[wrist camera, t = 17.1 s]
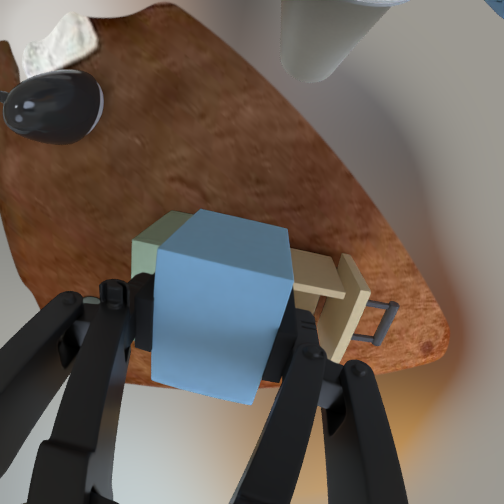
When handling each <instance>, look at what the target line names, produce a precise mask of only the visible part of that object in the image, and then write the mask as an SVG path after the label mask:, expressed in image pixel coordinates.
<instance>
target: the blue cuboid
mask: <svg viewBox="0 0 504 504" xmlns="http://www.w3.org/2000/svg"><path fill="white" fill-rule="evenodd" d="M293 283H294V276H293V268H292V260H291V252H290V244H289V237H288V229H286V228H282V227H278V226H274V225H269V224H265V223H261V222H257V221H252V220H248V219H244V218H239V217H235V216H230V215H226V214H222V213H217V212H213V211H208V210H203V209H200V210H199V211H197V212H196V213H195V214H194V215H193V216H192V217H191V218H190V219H189V220H187V221H186V222H185V223H184V224H183V225H182V226H181V227H180V228H179V229H178V230H176V231H175V232H174V233H173V234H172V235H171V236H170V237H169V238H168V239H167V240H166V241H165V242H164V243H163V244H162V245H160V246H159V247H158V249H157V257H156V269H155V282H154V313H153V339H152V351H151V380H153V381H156V382H159V383H162V384H166V385H169V386H172V387H176V388H179V389H183V390H187V391H190V392H194V393H198V394H202V395H206V396H210V397H214V398H218V399H223V400H228V401H232V402H237V403H242V404H247V405H252V403H253V400H254V398H255V395H256V392H257V390H258V387H259V384H260V381H261V379H262V375H263V372H264V370H265V367H266V364H267V361H268V358H269V355H270V353H271V350H272V347H273V344H274V341H275V338H276V335H277V332H278V329H279V327H280V324H281V321H282V318H283V315H284V312H285V308H286V305H287V302H288V299H289V296H290V293H291V290H292V287H293Z"/></svg>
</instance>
